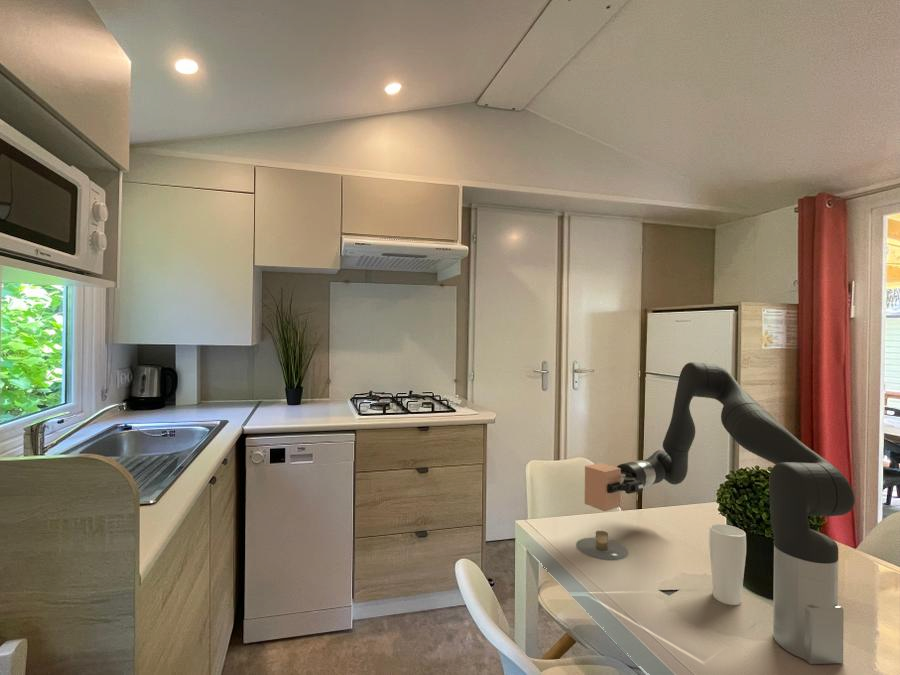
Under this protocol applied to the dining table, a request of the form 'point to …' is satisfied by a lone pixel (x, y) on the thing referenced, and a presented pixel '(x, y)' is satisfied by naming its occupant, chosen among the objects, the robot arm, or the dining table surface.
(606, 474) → the orange brown block
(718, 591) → the drinking glass
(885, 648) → the dining table surface
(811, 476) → the robot arm
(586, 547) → the plate
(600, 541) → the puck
